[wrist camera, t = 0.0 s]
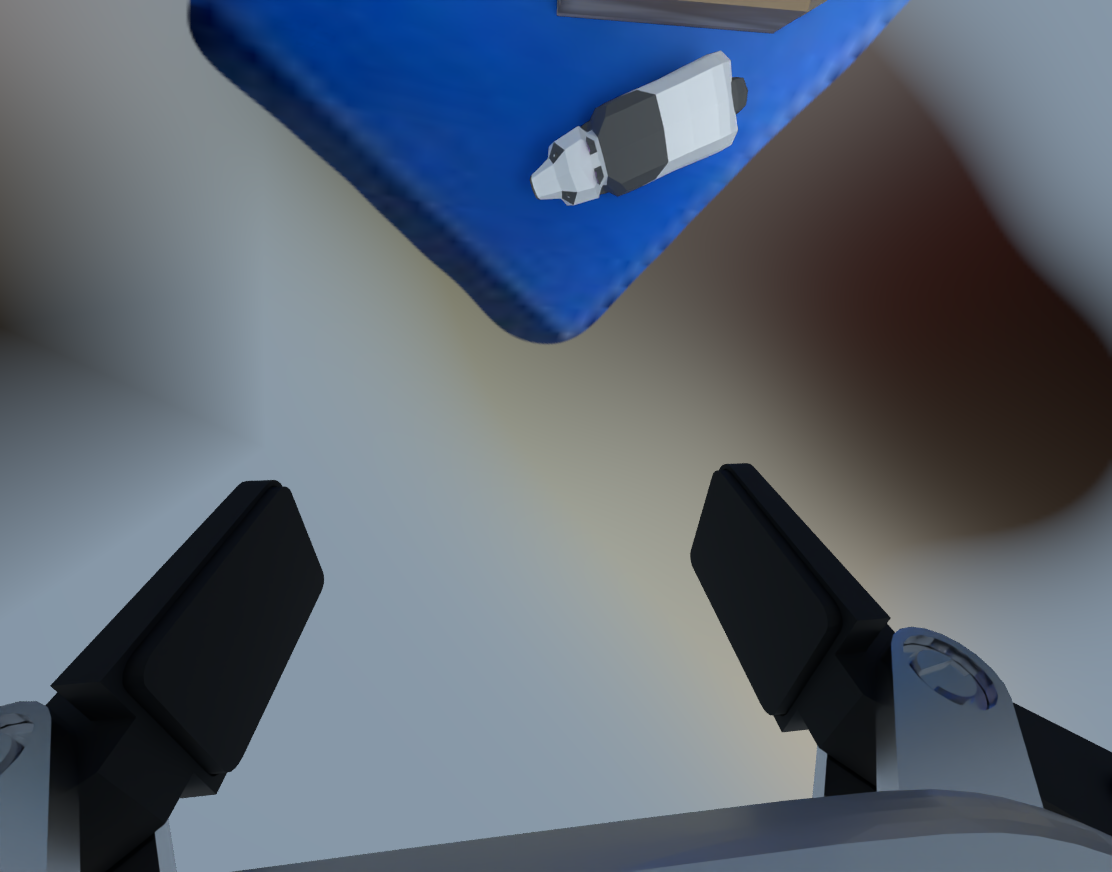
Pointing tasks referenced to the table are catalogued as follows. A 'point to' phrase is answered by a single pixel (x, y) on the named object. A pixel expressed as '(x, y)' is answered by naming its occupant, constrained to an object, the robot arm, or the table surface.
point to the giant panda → (646, 133)
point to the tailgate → (814, 4)
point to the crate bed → (692, 12)
